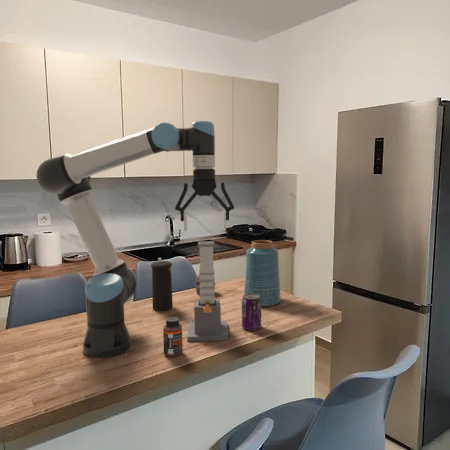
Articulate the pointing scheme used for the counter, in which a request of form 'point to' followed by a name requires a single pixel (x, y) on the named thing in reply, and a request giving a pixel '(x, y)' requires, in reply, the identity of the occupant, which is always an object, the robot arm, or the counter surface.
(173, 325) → the supplement bottle
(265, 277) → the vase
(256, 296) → the beverage can
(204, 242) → the column
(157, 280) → the container
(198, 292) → the cupcake
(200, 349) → the counter surface
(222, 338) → the stand
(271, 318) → the counter surface
